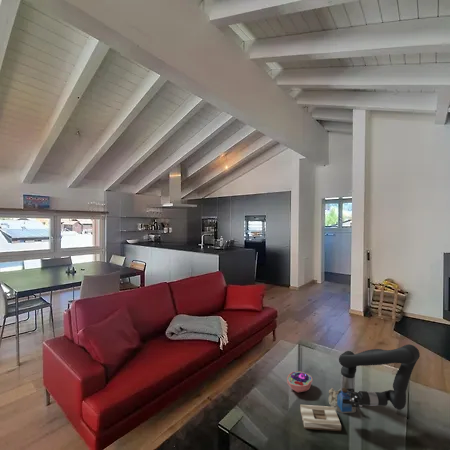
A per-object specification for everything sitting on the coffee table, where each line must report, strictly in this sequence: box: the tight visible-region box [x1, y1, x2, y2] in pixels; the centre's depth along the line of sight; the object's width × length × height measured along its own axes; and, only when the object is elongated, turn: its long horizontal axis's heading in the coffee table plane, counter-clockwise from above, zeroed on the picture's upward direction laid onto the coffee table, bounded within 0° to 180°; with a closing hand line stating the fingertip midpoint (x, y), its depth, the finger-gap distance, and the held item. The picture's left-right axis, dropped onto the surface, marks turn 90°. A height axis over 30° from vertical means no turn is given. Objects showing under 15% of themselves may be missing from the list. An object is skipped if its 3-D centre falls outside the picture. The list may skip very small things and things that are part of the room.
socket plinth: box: [299, 404, 342, 432], centre depth 171 cm, size 15×22×4 cm
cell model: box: [286, 370, 313, 393], centre depth 200 cm, size 17×20×11 cm
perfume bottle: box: [337, 388, 352, 412], centre depth 166 cm, size 6×6×12 cm
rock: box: [327, 387, 357, 414], centre depth 184 cm, size 16×16×15 cm
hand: (340, 397), depth 166 cm, fingers closed on perfume bottle, 7 cm apart
